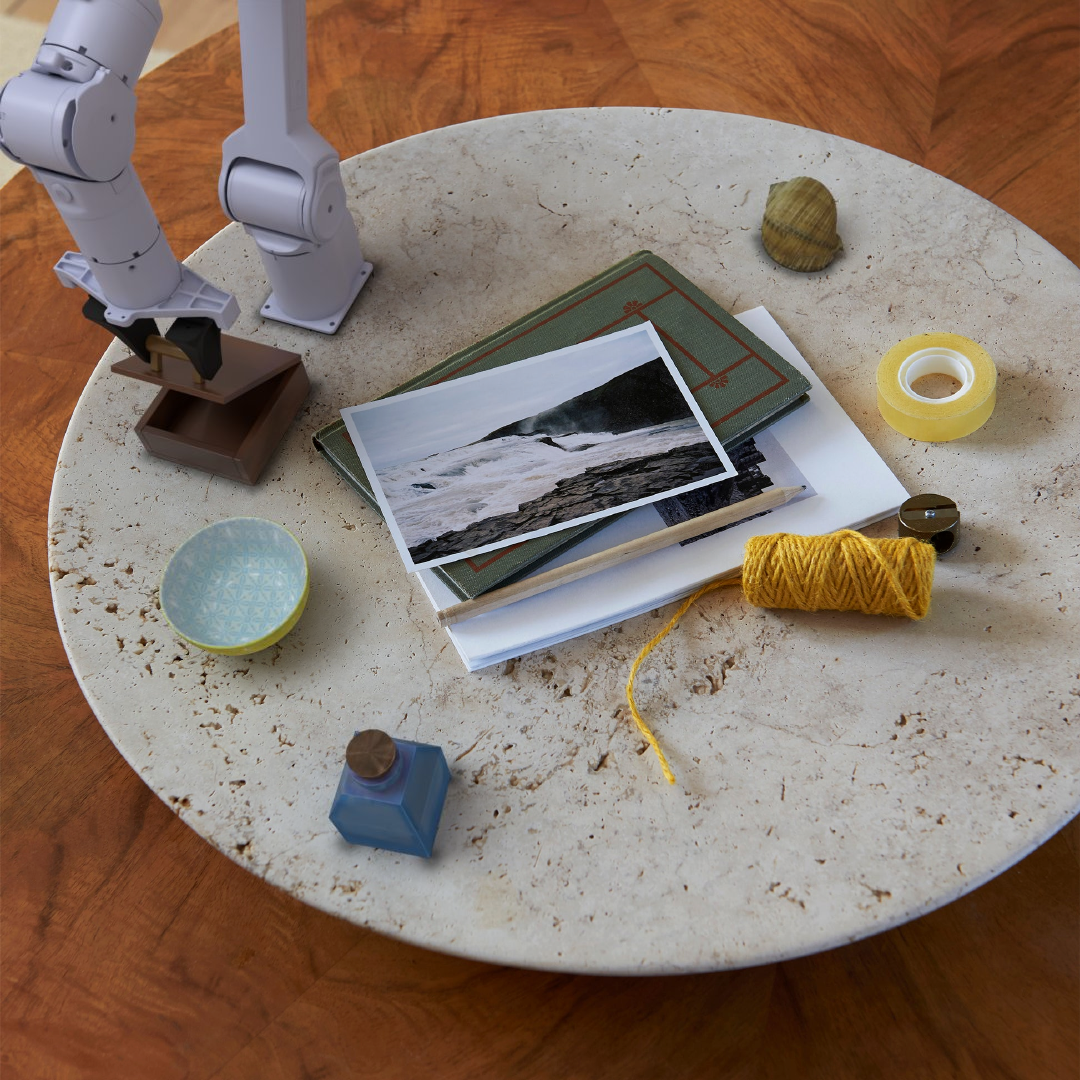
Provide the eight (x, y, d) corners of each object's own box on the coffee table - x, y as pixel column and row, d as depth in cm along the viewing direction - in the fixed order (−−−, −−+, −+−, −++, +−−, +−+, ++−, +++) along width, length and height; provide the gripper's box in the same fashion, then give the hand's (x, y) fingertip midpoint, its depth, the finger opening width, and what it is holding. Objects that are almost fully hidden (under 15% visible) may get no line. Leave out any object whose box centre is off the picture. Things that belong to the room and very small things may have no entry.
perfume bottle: (429, 858, 74) (404, 809, 64) (346, 841, 75) (308, 791, 65) (450, 775, 77) (430, 715, 67) (370, 760, 78) (338, 698, 68)
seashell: (823, 286, 106) (874, 217, 102) (807, 289, 100) (861, 216, 96) (748, 230, 108) (795, 161, 104) (728, 230, 102) (778, 156, 98)
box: (253, 486, 91) (240, 461, 88) (148, 454, 93) (132, 429, 90) (312, 387, 96) (302, 360, 93) (212, 359, 99) (199, 332, 95)
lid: (224, 404, 83) (224, 363, 81) (110, 372, 85) (108, 331, 83) (301, 360, 93) (302, 323, 91) (198, 332, 95) (197, 295, 93)
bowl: (201, 702, 81) (174, 670, 75) (172, 582, 86) (145, 544, 81) (342, 651, 83) (325, 615, 77) (304, 536, 88) (286, 496, 83)
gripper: (0, 251, 73) (80, 376, 85) (180, 299, 70) (237, 422, 82) (57, 185, 76) (126, 315, 88) (230, 228, 73) (279, 356, 85)
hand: (183, 362), depth 85 cm, fingers closed on lid, 5 cm apart
